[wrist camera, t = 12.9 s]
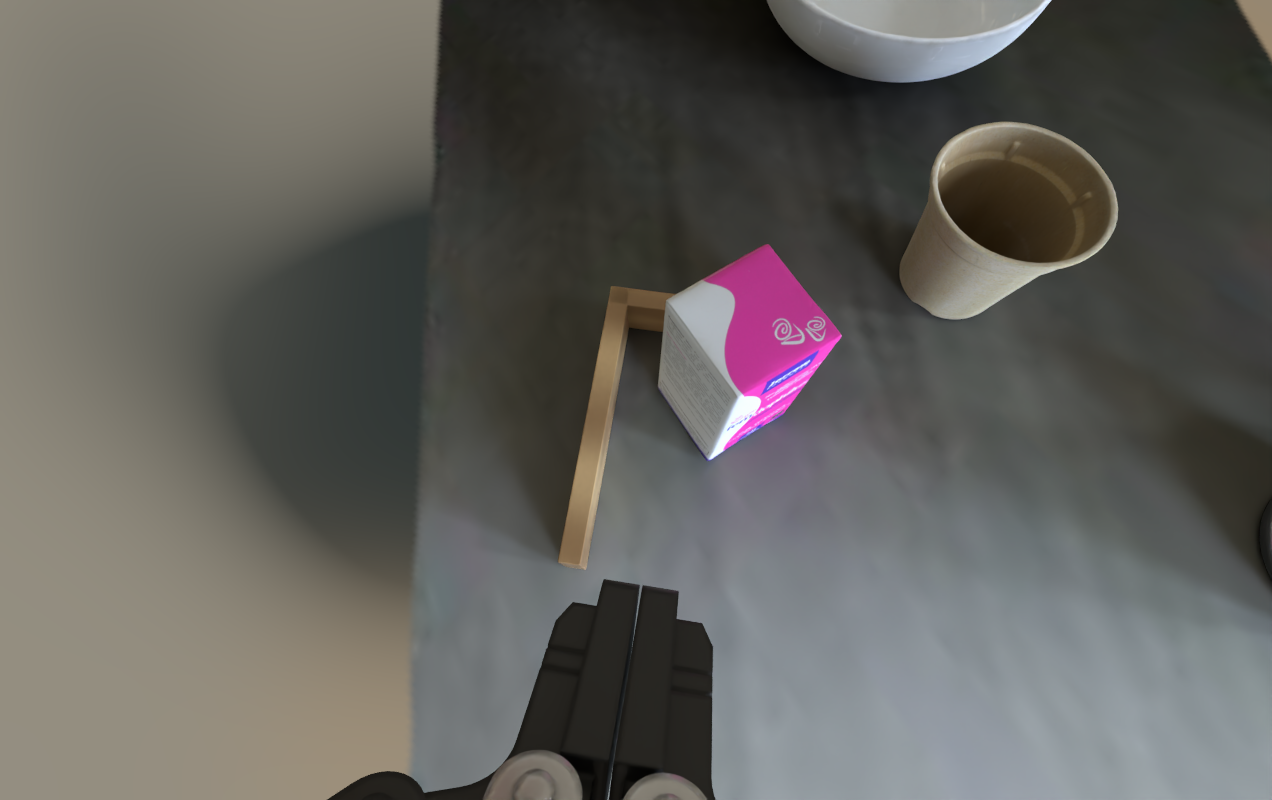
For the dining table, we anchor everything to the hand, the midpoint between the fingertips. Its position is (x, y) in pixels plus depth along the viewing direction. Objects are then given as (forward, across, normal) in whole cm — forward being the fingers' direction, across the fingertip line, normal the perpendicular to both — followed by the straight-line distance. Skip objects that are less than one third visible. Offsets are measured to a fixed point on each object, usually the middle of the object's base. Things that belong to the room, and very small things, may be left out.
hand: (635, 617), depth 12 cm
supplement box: (+25, -3, +6) cm, 26 cm away
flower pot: (+32, -16, -1) cm, 36 cm away
